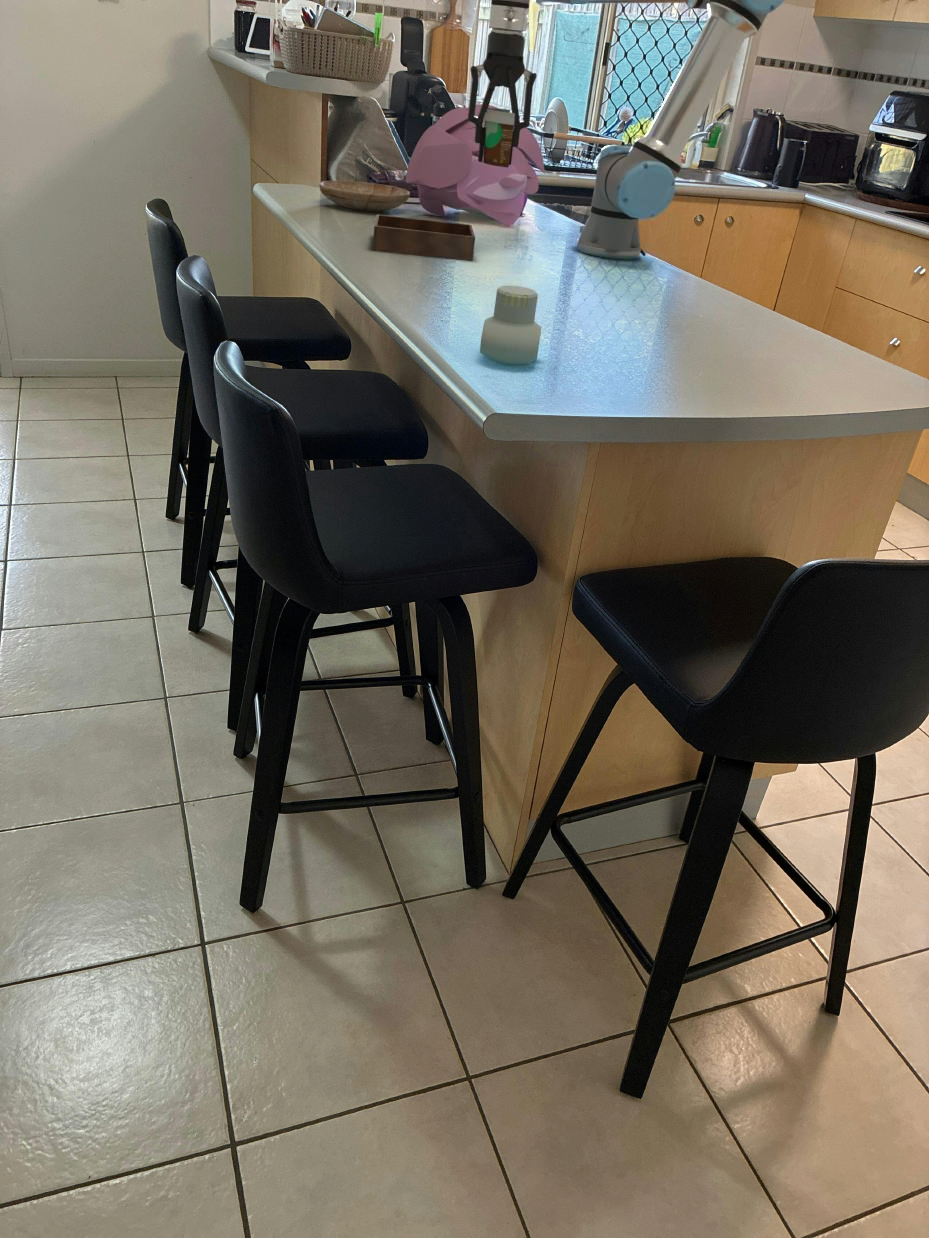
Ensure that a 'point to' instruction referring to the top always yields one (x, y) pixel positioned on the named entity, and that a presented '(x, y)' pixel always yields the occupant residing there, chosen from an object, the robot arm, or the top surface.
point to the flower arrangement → (472, 171)
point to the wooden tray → (423, 237)
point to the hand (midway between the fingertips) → (494, 162)
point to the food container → (498, 136)
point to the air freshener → (512, 327)
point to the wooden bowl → (364, 195)
